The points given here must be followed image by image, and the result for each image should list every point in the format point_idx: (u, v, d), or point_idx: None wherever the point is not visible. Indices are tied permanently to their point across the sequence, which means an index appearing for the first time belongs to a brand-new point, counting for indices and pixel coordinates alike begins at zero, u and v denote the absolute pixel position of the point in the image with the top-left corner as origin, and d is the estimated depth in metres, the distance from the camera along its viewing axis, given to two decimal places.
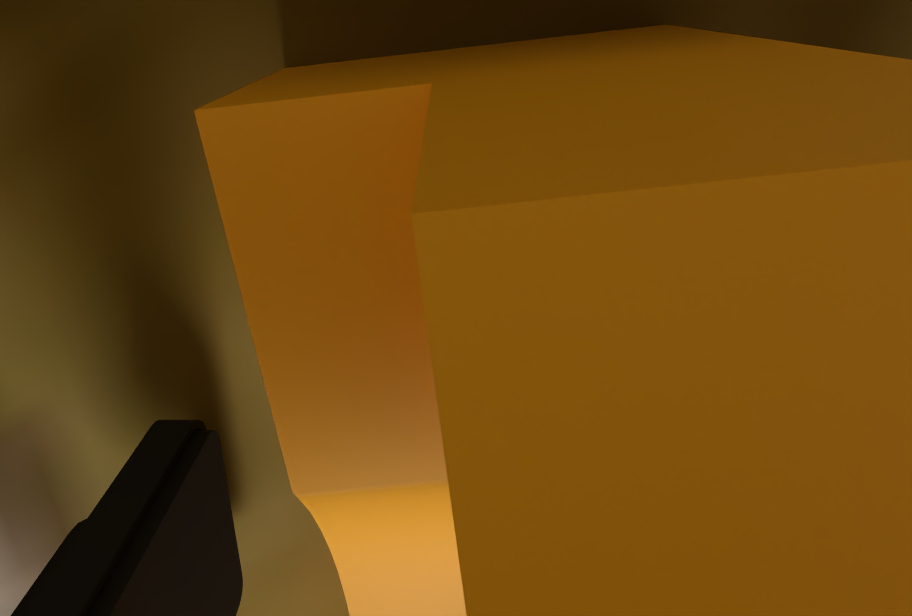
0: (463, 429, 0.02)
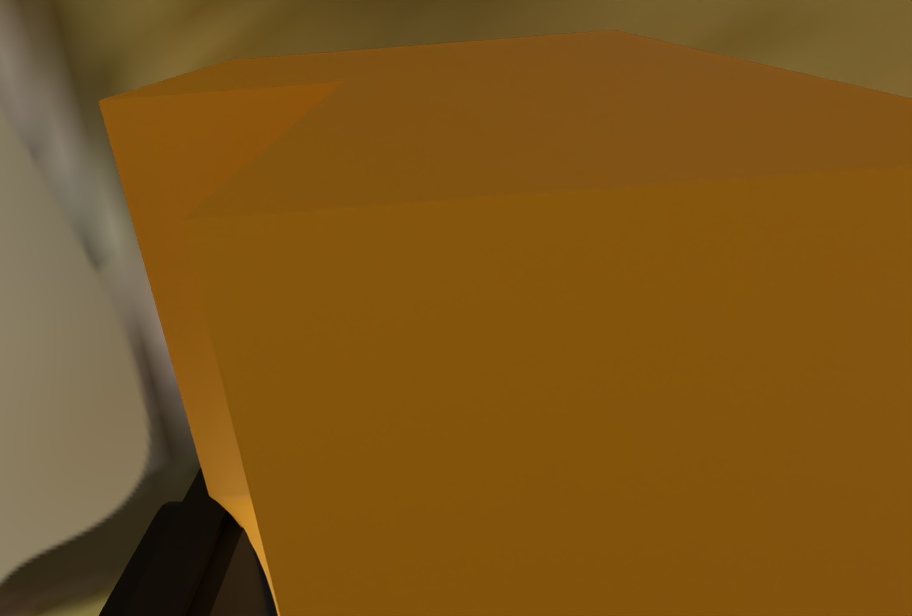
0: (262, 450, 0.02)
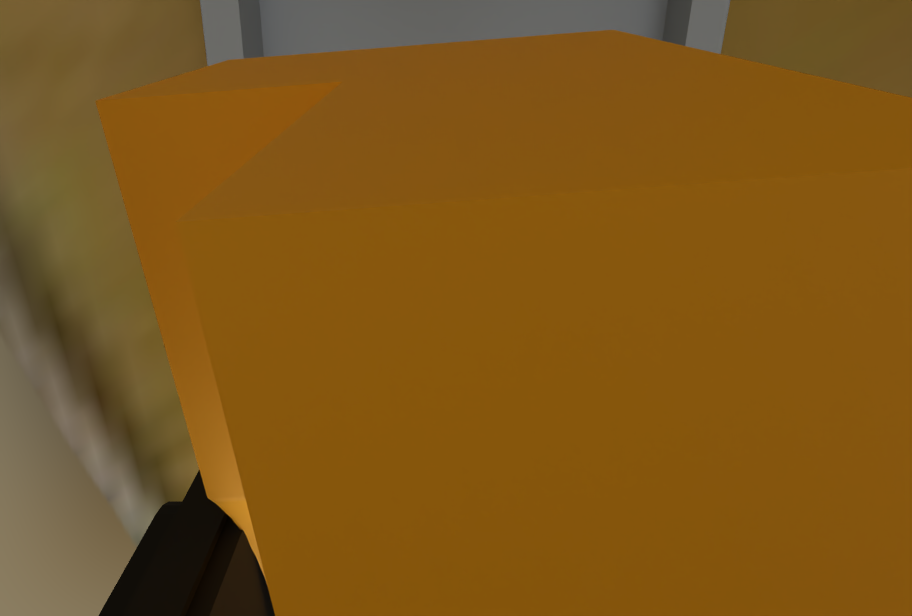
0: (258, 454, 0.02)
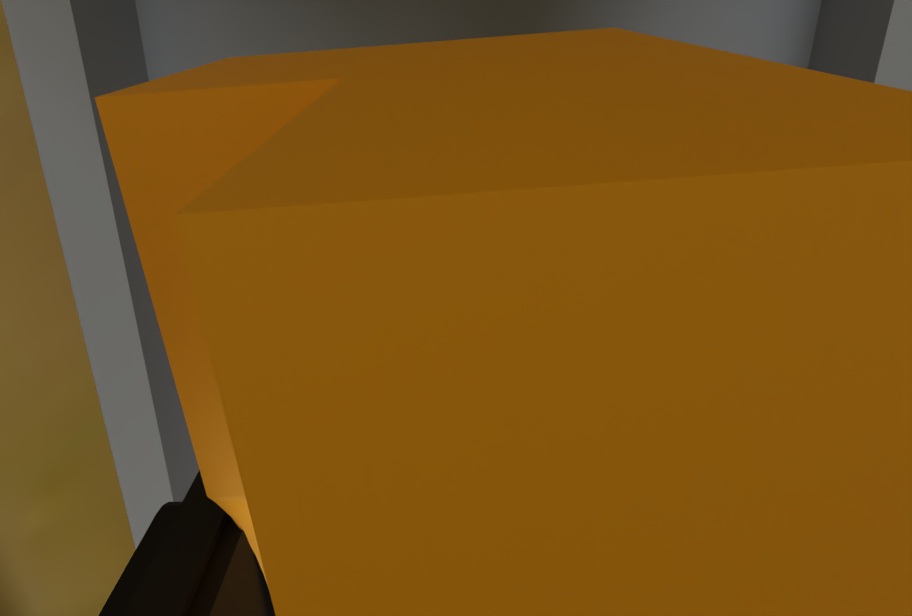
0: (258, 450, 0.02)
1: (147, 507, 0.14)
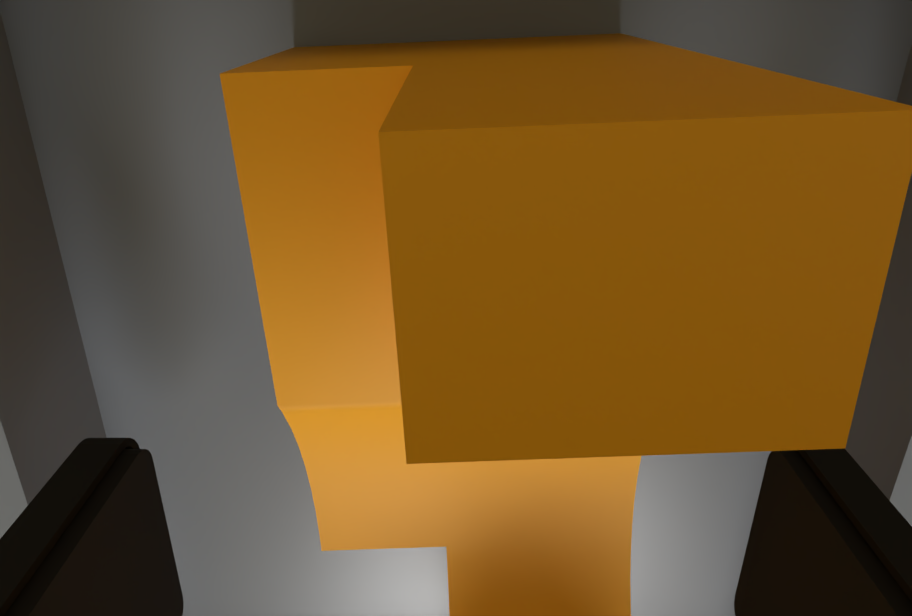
0: (406, 282, 0.04)
1: None
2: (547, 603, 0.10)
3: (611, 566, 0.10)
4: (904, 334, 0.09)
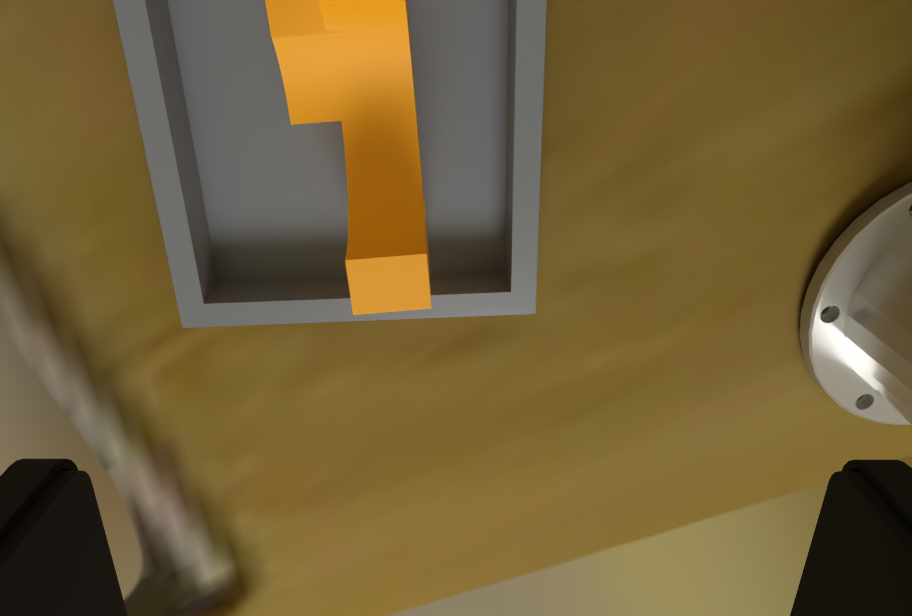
0: None
1: (165, 187, 0.25)
2: (384, 145, 0.24)
3: (409, 127, 0.24)
4: (513, 22, 0.24)
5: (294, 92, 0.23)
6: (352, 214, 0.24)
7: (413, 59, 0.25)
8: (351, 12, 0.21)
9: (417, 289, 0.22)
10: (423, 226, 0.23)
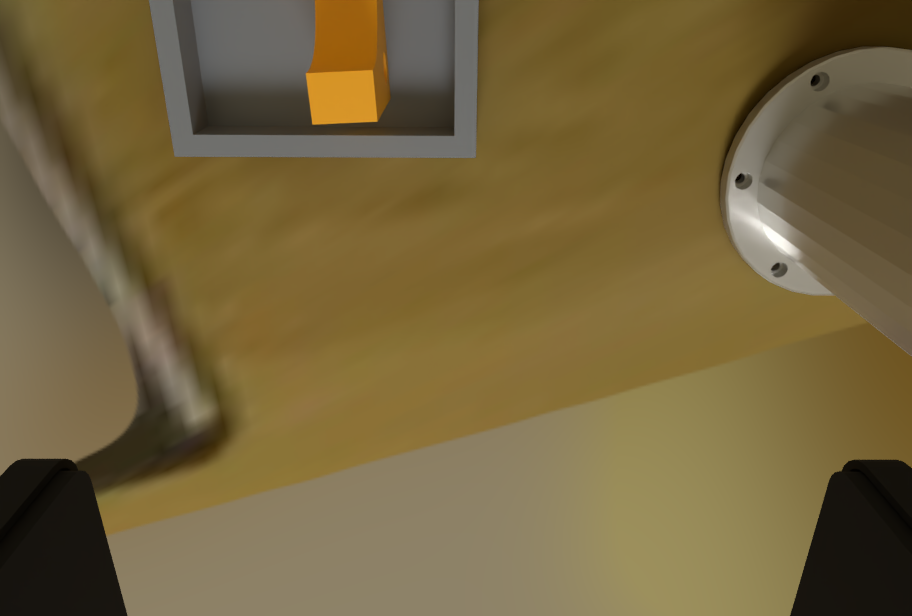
0: None
1: (163, 25, 0.30)
2: None
3: None
4: None
5: None
6: (317, 47, 0.28)
7: None
8: None
9: (365, 103, 0.27)
10: (375, 56, 0.28)
